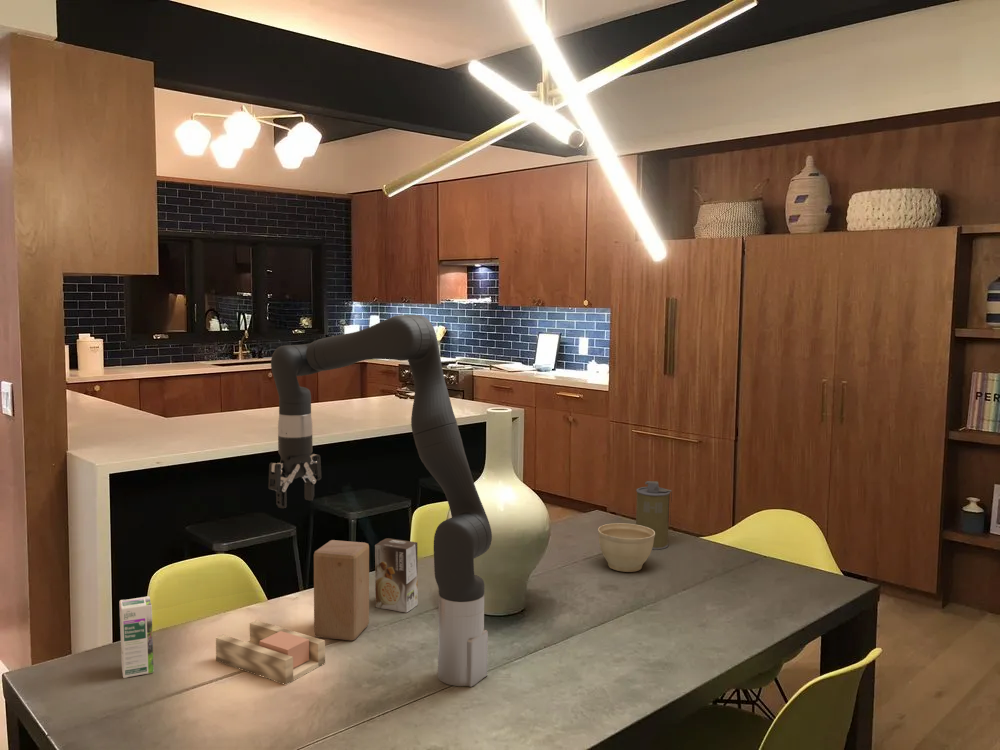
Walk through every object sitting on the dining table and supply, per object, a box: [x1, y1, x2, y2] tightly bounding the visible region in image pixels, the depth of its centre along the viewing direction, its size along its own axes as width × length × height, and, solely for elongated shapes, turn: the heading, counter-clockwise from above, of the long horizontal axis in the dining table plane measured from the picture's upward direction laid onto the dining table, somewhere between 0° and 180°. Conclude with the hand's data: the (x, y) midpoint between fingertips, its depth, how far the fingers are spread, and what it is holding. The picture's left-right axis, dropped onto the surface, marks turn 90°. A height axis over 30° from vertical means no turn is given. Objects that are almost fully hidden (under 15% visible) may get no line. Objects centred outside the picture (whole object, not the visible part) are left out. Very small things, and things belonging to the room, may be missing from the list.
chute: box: [215, 619, 326, 685], centre depth 171 cm, size 20×11×5 cm, turn 60°
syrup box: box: [118, 595, 155, 679], centre depth 166 cm, size 6×6×14 cm
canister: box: [635, 480, 673, 551], centre depth 256 cm, size 11×10×20 cm
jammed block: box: [259, 631, 309, 668], centre depth 169 cm, size 8×6×4 cm
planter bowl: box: [597, 522, 655, 573], centre depth 234 cm, size 16×16×11 cm
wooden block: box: [313, 539, 370, 641], centre depth 186 cm, size 10×10×20 cm
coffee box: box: [374, 537, 419, 614], centre depth 202 cm, size 9×6×16 cm
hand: (295, 503), depth 186 cm, fingers open, 8 cm apart
